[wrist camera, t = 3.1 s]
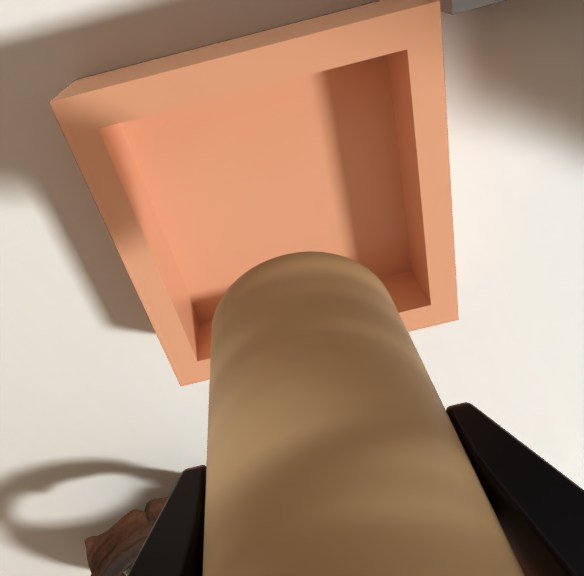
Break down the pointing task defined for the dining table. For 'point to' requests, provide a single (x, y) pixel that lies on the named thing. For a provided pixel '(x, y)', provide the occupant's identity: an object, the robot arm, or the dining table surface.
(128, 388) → the dining table surface
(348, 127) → the terracotta dish
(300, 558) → the maple peg
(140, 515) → the dark brown vr controller
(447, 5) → the charcoal tray
